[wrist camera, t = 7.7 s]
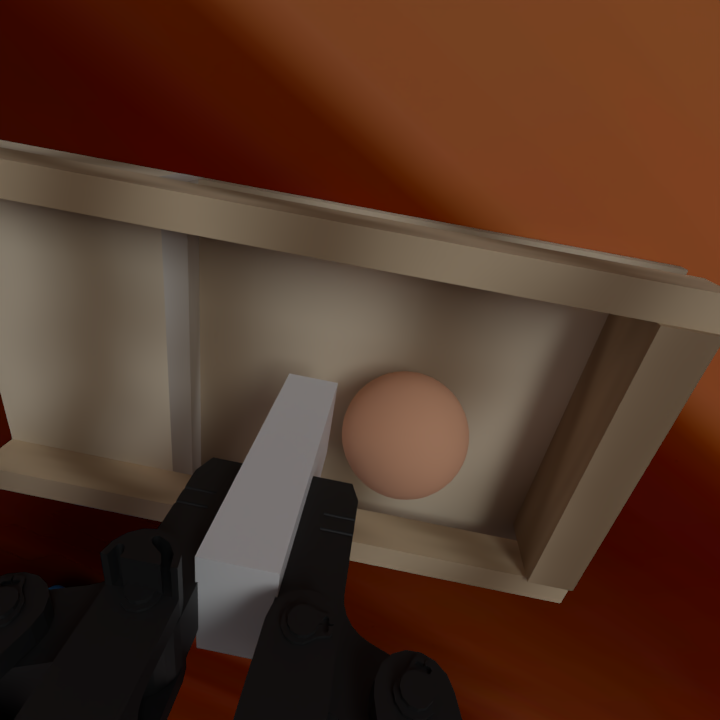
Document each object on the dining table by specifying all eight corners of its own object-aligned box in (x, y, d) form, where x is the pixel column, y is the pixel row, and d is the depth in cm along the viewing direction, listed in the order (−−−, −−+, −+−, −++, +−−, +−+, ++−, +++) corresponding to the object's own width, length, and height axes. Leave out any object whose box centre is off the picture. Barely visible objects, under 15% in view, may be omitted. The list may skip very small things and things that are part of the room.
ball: (356, 431, 17) (319, 505, 14) (368, 339, 15) (329, 399, 12) (459, 459, 16) (446, 545, 13) (485, 366, 15) (480, 438, 11)
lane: (39, 440, 19) (-21, 489, 17) (-30, 134, 14) (-135, 134, 11) (541, 541, 19) (562, 608, 16) (680, 266, 13) (747, 300, 11)
